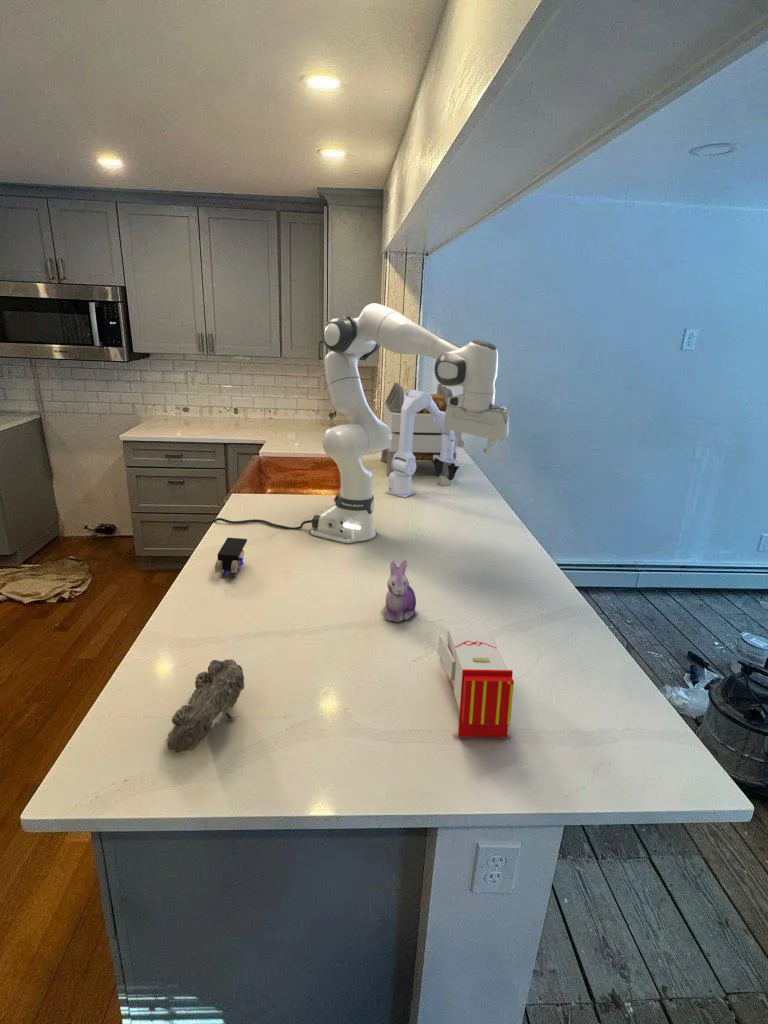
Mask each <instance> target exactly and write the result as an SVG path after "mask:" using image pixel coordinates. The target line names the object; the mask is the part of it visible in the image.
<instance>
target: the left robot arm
mask: <svg viewBox="0 0 768 1024" xmlns="http://www.w3.org/2000/svg"><path fill="white" fill-rule="evenodd" d="M322 341H323V344H324V346H325V348H327V349H328V350H329V351H328V352H327V354H326V355H325V356H324V373H325V381H326V384H327V388H328V394H329V397H330V401H331V405H332V408H333V410H334V411H335V412H336V413H338V414H339V415H341V416H343V417H344V418H345V419H346V420H347V421H348V423H345V424H339V425H336V426H333V427H330V428H327V429H326V430H325V432H324V433H323V436H322V439H321V440H322V441H321V442H322V448H323V450H324V452H325V454H326V455H327V456H328V457H329V458H330V459H332V460H333V461H334V463H335V464H336V466H337V468H338V469H337V470H338V472H339V482H340V484H339V485H340V488H339V489H340V490H339V491H338V492H337V494H336V495H335V496H334V497H333V502H334V504H333V505H331V506H329V507H328V508H326V509H325V510H323V512H321V514H314V515H313V517H312V519H307V520H304V521H302V522H301V523H300V525H299V526H296V527H294V526H293V527H290V526H286V525H282V524H277V523H273V522H271V521H268V520H265V519H256V518H255V519H245V520H229V519H226V518H223V517H217V518H213V520H212V521H211V523H215V522H217V521H221V522H225V523H228V524H232V525H233V524H234V525H236V524H246V523H247V524H248V523H262V524H266V525H269V526H271V527H274V528H275V527H276V528H279V529H284V530H301V529H302V528H303V527H304V525H306V524H310V523H311V530H310V533H311V536H315V537H319V538H323V539H326V540H330V541H336V542H339V543H343V544H352V543H357V542H365V541H368V540H372V539H373V538H375V537H376V535H377V532H376V528H375V523H374V513H373V512H374V509H375V496H374V474H373V472H372V471H371V469H369V468H368V467H366V466H364V464H363V457H364V456H370V455H375V454H379V453H382V451H383V450H386V449H387V448H389V446H390V444H391V441H392V433H391V430H390V428H389V427H388V425H387V424H385V423H384V421H382V420H381V419H380V418H379V417H377V415H376V414H375V412H374V411H373V410H372V408H371V406H370V405H369V403H368V401H367V398H366V395H365V392H364V387H363V384H362V381H361V375H360V372H359V369H358V363H359V360H360V361H365V360H367V359H368V358H369V357H370V356H372V355H374V354H375V353H376V352H377V351H379V349H380V348H381V347H382V348H383V349H386V350H387V351H390V352H393V353H395V354H398V355H420V356H425V357H426V356H427V357H430V358H432V359H435V362H434V368H433V371H434V375H435V376H434V377H435V379H436V381H437V382H438V384H442V386H446V387H451V388H452V387H459V386H460V387H461V386H462V393H461V394H458V395H453V397H449V398H448V399H447V404H448V405H449V406H448V407H447V408H446V412H445V418H444V426H445V428H446V429H448V430H453V431H454V436H455V438H456V441H457V445H456V448H464V447H465V440H463V438H462V435H463V434H466V435H470V436H471V435H472V436H475V437H480V438H483V439H484V438H485V439H487V443H488V444H487V445H486V446H483V447H482V450H483V451H482V453H483V454H486V455H490V454H491V453H492V448H493V446H494V445H496V441H498V442H501V441H505V440H507V439H508V438H509V429H510V426H509V425H510V424H509V420H510V410H509V409H508V408H506V406H504V405H499V404H495V398H496V397H495V396H496V387H495V386H496V385H495V383H496V380H497V377H498V367H499V352H498V348H497V346H496V345H494V344H493V343H491V342H488V341H484V340H477V339H476V340H471V341H469V342H467V344H465V345H463V346H462V347H461V346H459V345H457V344H455V343H452V342H451V341H449V340H447V339H445V338H443V337H441V336H439V335H437V334H435V333H433V332H432V331H429V330H428V329H427V328H425V327H424V326H421V325H419V324H418V323H416V322H415V321H413V320H412V319H410V318H409V317H407V316H405V315H404V314H403V313H400V312H399V311H398V310H395V309H393V308H391V307H389V306H386V305H384V304H380V303H376V302H372V303H369V304H367V305H366V306H364V308H363V309H362V310H361V311H360V314H359V316H358V317H352V315H347V316H340V317H333V318H331V319H329V320H328V321H326V323H325V324H324V326H323V329H322Z"/></svg>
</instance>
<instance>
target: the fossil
mask: <svg viewBox="0 0 768 1024" xmlns="http://www.w3.org/2000/svg"><path fill="white" fill-rule="evenodd" d="M243 670H244V669H243V667H242V665H240V664H237V662H236V661H235V660H234V659H232V658H231V659H227V658H226V659H224V660H223V661H222V660H217V659H212V660H211V661H210V663H209V665H208V666H207V671H201V672H199V673H198V674H197V675H196V676H195V680H194V684H195V685H194V687H195V689H194V690H193V693H192V694H191V697H190V698H189V700H188V704H184V705H182V706H181V707H180V709H177V710H176V711H175V713H174V715H173V716H172V718H171V723H172V724H173V727H172V730H171V731H170V732H168V734H167V738H166V741H167V742H166V745H167V749H168V750H169V751H173V752H174V753H176V754H178V753H182V752H188V751H189V752H192V751H193V750H195V748H196V747H197V746H199V744H200V743H201V742H203V741H204V740H205V739H206V738H207V737H208V736H209V735H210V734H211V733H212V732H214V730H215V729H217V727H218V726H219V724H220V722H221V721H222V720H223V719H224V718H225V716H226V717H227V719H229V720H233V717H232V715H230V714H229V710H230V709H231V708H234V706H235V704H236V703H237V702H238V699H239V697H240V695H241V693H242V691H243V690H245V689H244V688H245V675H244V671H243Z"/></svg>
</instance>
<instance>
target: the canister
mask: <svg viewBox="0 0 768 1024" xmlns="http://www.w3.org/2000/svg"><path fill="white" fill-rule="evenodd" d="M450 484H451V480H449V474H445V473H442V474H439V476H438V485H440V486H444V487H445V486H447V487H448V486H450Z"/></svg>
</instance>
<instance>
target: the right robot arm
mask: <svg viewBox="0 0 768 1024" xmlns="http://www.w3.org/2000/svg"><path fill="white" fill-rule="evenodd" d="M404 393H405V394H404V401H403V406H402V409H401V423H400V439H399V451H398V452H396V453H395V454H394V458H393V460H392V469H393V470H394V472H392V473H391V474H390V475H389V476H388V483H387V491H386V493H387V494H389V495H393V496H398V497H401V498H407V497H409V496H413V495H414V494H415V491H412V479H413V477H412V476H413V475H414V473H415V472H416V470H417V463H416V460H415V456H414V455H413V453H412V441H413V428H414V415H415V414H416V413H417V412H419V411H420V410H422V409H424V408H426V409H427V410H428V411H429V412H430V413H431V414H432V415H433V420H434V422H435V423H436V424H437V425H438V427H439V431H440V433H442V438H441V451H440V455H433V459H434V460H435V461H432V464H433V466H434V469H435V474H436V477H439V474H441V472H442V466H443V463H444V462H446V463H449V464H451V465H448V470H449V480H450V481H453V480H454V478H455V476H456V473H457V471H458V469H459V468H460V463H461V462H460V460H457V459H456V460H455V459H454V458H453V449H454V439H455V436H454V431H453V430H448V429H446V428H445V426H444V418H445V412H443V411H439V409H438V408H437V406H436V405H435V403H434V402H433V400H432V396H431V395H430V394H431V393H430V392H428V391H422V390H417V389H413V388H410V389H408V390H407V391H406V392H404ZM454 475H455V476H454Z"/></svg>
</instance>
